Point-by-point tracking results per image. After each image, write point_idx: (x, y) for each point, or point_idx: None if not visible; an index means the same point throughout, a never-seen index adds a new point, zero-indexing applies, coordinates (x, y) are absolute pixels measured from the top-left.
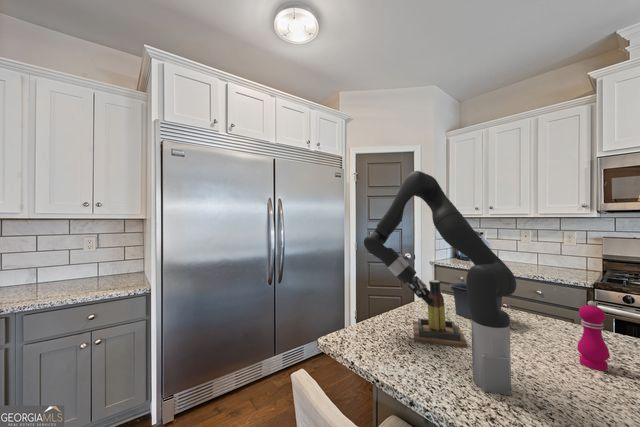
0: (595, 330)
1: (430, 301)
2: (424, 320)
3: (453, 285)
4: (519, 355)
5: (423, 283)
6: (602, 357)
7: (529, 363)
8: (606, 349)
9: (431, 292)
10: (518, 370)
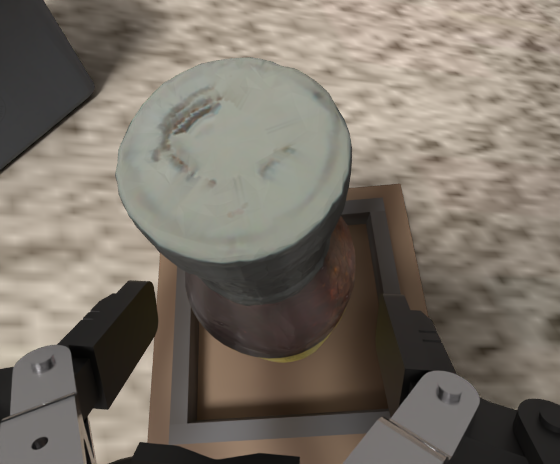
0: None
1: (425, 317)
2: (188, 393)
3: None
4: (377, 46)
5: (9, 419)
6: None
7: (429, 33)
8: None
9: (307, 284)
10: (505, 65)
